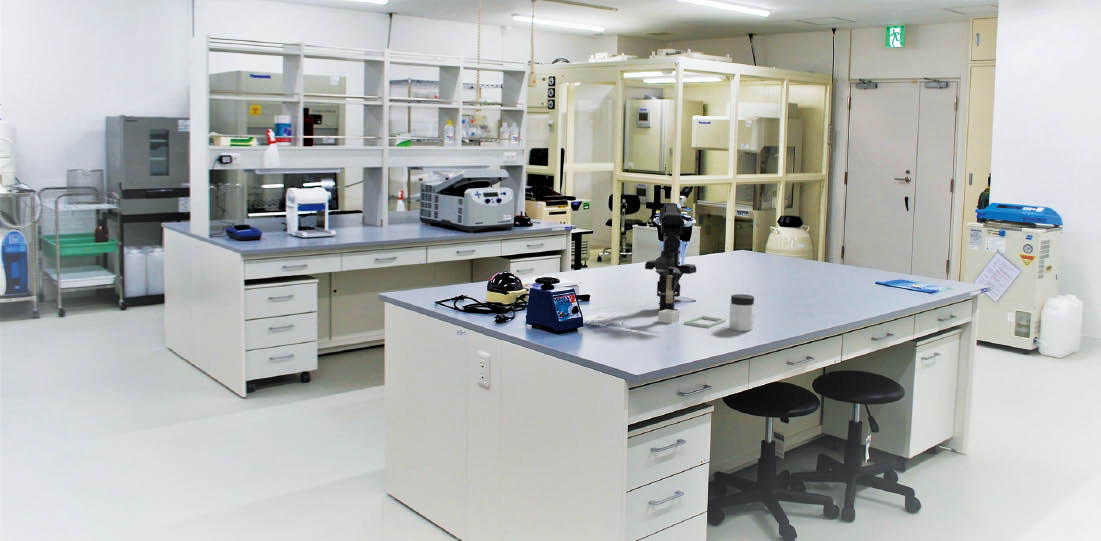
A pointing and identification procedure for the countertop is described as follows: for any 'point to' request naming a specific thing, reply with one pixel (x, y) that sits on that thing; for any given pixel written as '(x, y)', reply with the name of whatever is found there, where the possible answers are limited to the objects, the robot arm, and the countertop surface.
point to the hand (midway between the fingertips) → (669, 290)
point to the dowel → (669, 289)
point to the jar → (741, 312)
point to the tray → (691, 322)
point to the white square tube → (668, 316)
